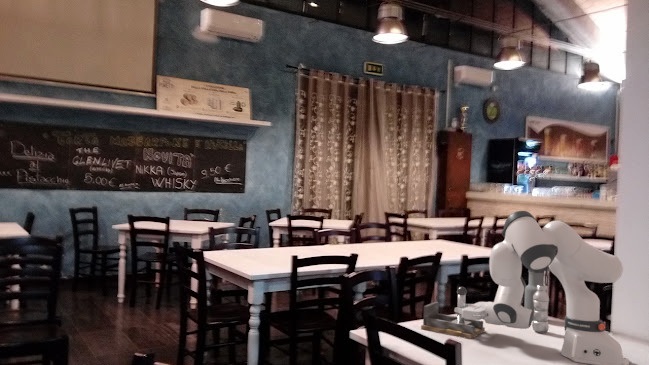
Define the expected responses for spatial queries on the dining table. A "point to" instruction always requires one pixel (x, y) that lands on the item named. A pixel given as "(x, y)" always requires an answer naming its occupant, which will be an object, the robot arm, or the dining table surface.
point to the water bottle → (534, 286)
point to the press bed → (448, 323)
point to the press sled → (461, 306)
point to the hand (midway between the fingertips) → (459, 307)
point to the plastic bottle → (540, 310)
